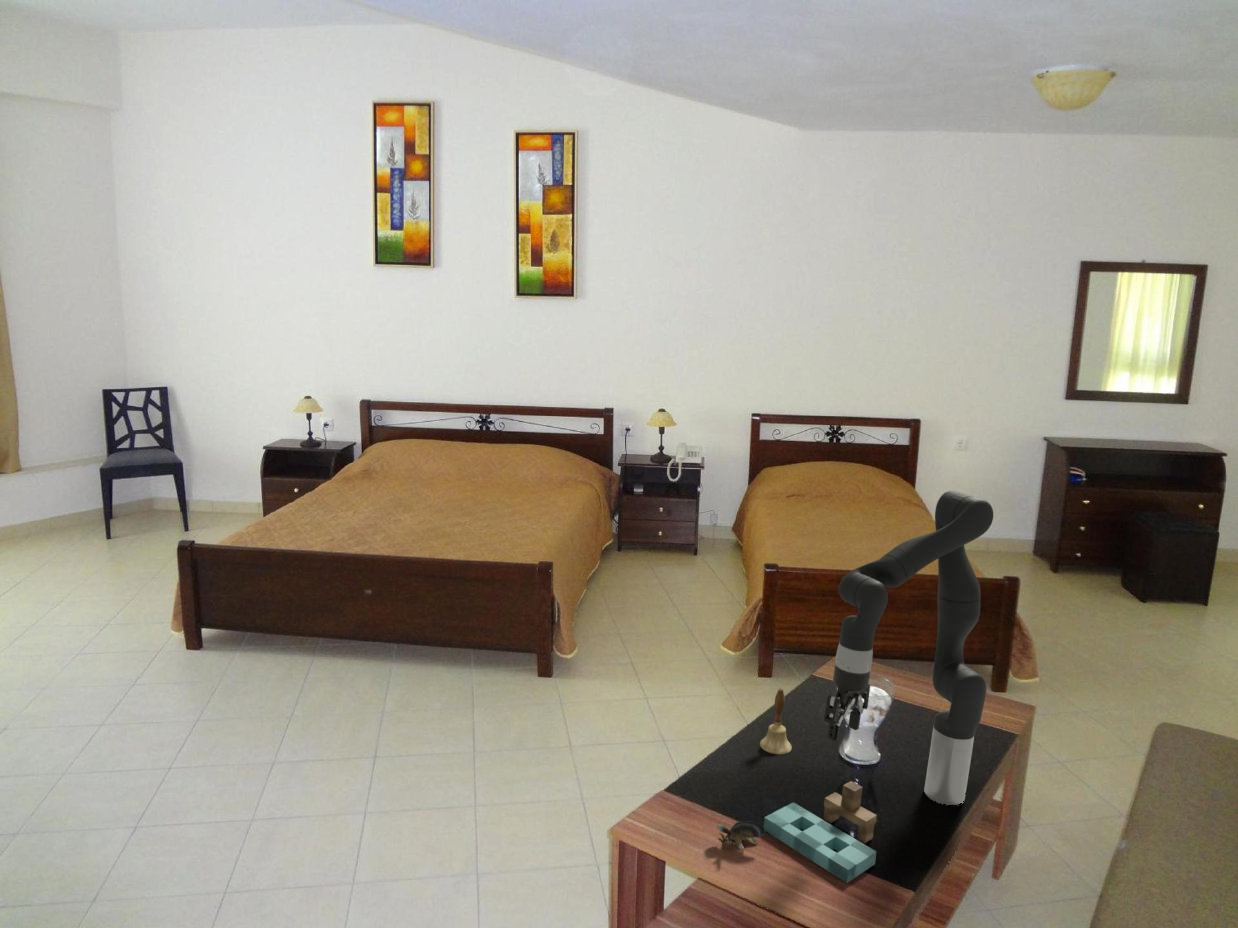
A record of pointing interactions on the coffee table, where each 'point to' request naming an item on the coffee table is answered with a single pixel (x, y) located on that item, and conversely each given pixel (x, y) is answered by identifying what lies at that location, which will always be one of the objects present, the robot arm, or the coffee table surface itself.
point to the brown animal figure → (741, 833)
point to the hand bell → (777, 730)
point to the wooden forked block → (850, 810)
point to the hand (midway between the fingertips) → (843, 733)
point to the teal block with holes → (820, 842)
